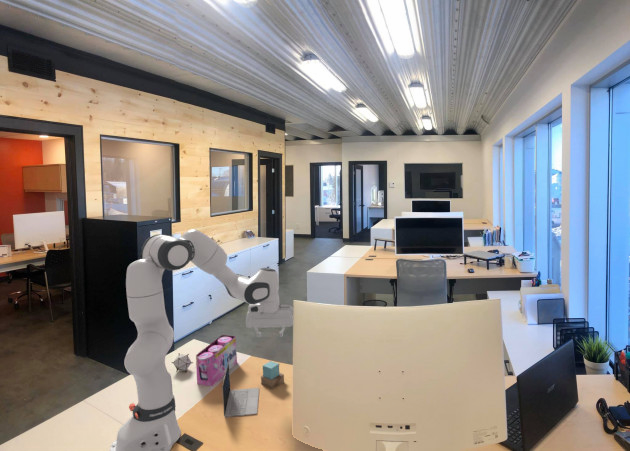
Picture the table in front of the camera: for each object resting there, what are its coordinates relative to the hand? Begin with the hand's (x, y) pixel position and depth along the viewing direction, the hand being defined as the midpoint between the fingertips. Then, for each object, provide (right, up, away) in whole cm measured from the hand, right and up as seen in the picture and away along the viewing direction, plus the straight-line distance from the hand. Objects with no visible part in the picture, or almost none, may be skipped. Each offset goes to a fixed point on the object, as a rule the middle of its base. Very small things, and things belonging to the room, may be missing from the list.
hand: (270, 336), depth 165 cm
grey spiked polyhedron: (-43, -21, +16) cm, 51 cm away
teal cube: (0, -18, +2) cm, 18 cm away
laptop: (-10, -24, -10) cm, 28 cm away
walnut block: (+1, -22, +3) cm, 22 cm away
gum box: (-26, -21, +13) cm, 36 cm away
